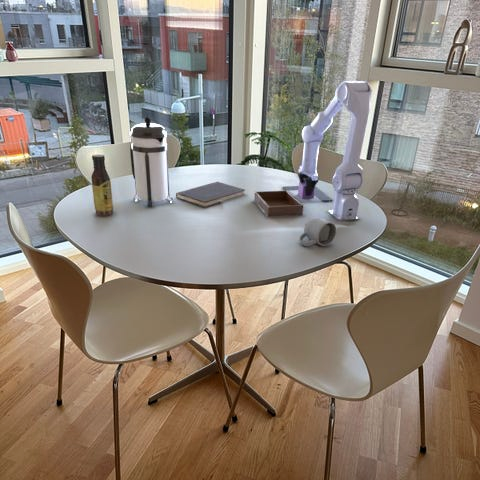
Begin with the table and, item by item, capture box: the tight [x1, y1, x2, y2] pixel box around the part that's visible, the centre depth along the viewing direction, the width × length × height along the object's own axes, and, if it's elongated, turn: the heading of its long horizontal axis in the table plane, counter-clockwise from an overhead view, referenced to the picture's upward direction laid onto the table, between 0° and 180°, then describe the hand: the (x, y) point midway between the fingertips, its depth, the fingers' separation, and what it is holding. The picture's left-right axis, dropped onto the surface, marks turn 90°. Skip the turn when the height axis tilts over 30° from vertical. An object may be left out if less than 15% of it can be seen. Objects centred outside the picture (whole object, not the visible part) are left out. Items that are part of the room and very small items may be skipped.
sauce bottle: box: [91, 154, 114, 217], centre depth 158 cm, size 7×6×20 cm
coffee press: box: [129, 116, 174, 208], centre depth 169 cm, size 17×16×30 cm
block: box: [297, 181, 316, 199], centre depth 186 cm, size 5×5×5 cm
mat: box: [282, 185, 333, 203], centre depth 191 cm, size 20×14×1 cm
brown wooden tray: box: [254, 190, 304, 218], centre depth 173 cm, size 18×13×4 cm
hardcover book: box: [175, 181, 246, 209], centre depth 183 cm, size 16×23×2 cm
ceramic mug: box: [299, 216, 337, 247], centre depth 146 cm, size 11×8×8 cm
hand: (306, 193), depth 186 cm, fingers closed on block, 5 cm apart
